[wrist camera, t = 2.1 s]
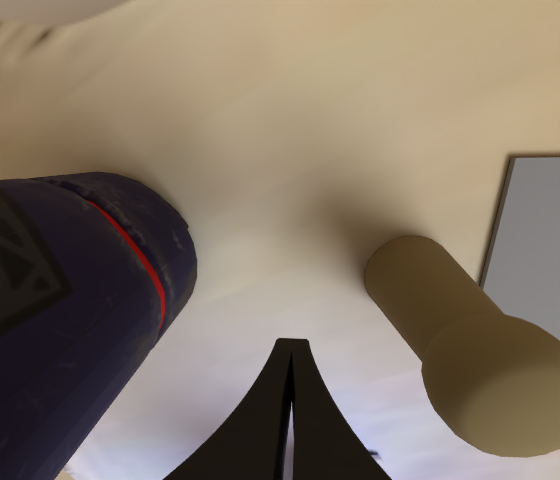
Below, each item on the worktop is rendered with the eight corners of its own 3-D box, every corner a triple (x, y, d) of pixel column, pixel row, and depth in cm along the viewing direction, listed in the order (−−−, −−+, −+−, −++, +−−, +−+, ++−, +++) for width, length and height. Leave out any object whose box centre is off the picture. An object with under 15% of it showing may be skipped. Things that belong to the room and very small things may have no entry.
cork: (357, 307, 20) (417, 474, 10) (373, 231, 18) (469, 337, 8) (439, 317, 20) (590, 498, 9) (464, 240, 18) (688, 363, 8)
